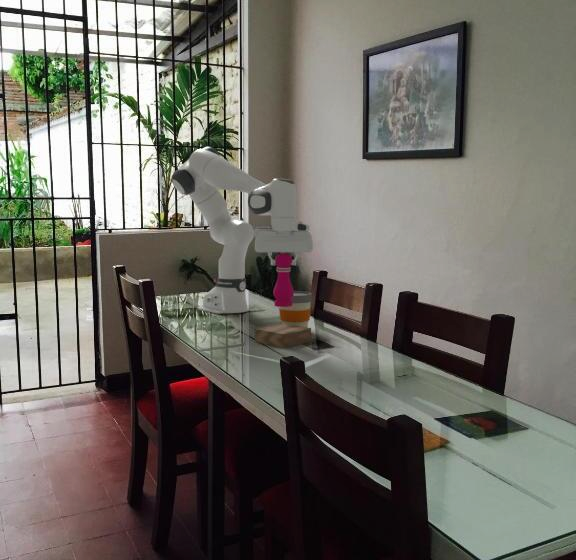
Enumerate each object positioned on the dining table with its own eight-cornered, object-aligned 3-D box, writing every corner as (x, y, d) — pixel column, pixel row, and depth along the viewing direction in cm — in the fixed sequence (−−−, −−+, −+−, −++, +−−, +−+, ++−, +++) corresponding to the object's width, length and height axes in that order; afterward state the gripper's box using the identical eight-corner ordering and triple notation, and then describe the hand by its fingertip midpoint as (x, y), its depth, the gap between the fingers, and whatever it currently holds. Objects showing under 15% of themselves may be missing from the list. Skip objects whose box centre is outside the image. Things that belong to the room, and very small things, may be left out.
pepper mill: (270, 306, 225) (270, 249, 223) (277, 303, 232) (277, 247, 230) (289, 307, 223) (290, 249, 220) (296, 304, 230) (297, 248, 227)
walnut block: (255, 342, 228) (255, 329, 228) (281, 336, 239) (281, 323, 238) (285, 348, 219) (285, 334, 219) (311, 342, 230) (311, 328, 229)
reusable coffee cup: (306, 328, 252) (306, 290, 250) (315, 335, 240) (316, 295, 238) (275, 330, 249) (275, 291, 247) (282, 336, 237) (282, 296, 235)
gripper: (254, 225, 220) (254, 266, 222) (313, 226, 222) (313, 266, 224) (253, 225, 226) (253, 264, 228) (311, 225, 228) (310, 264, 230)
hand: (283, 265), depth 226 cm, fingers closed on pepper mill, 6 cm apart
